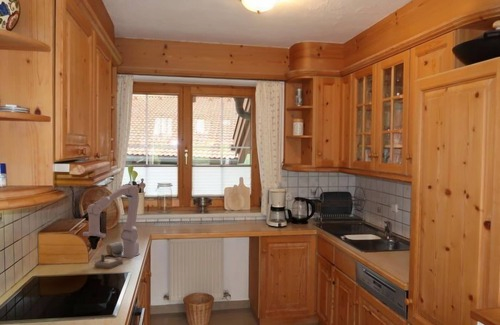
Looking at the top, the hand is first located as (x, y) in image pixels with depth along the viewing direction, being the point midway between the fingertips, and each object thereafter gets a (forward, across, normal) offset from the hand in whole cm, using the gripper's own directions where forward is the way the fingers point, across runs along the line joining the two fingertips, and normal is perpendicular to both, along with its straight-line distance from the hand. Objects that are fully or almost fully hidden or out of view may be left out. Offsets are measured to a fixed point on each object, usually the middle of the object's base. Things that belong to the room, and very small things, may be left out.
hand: (94, 249), depth 215 cm
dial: (+8, +7, +3) cm, 11 cm away
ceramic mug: (+9, -3, +22) cm, 24 cm away
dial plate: (+9, +7, +3) cm, 12 cm away
